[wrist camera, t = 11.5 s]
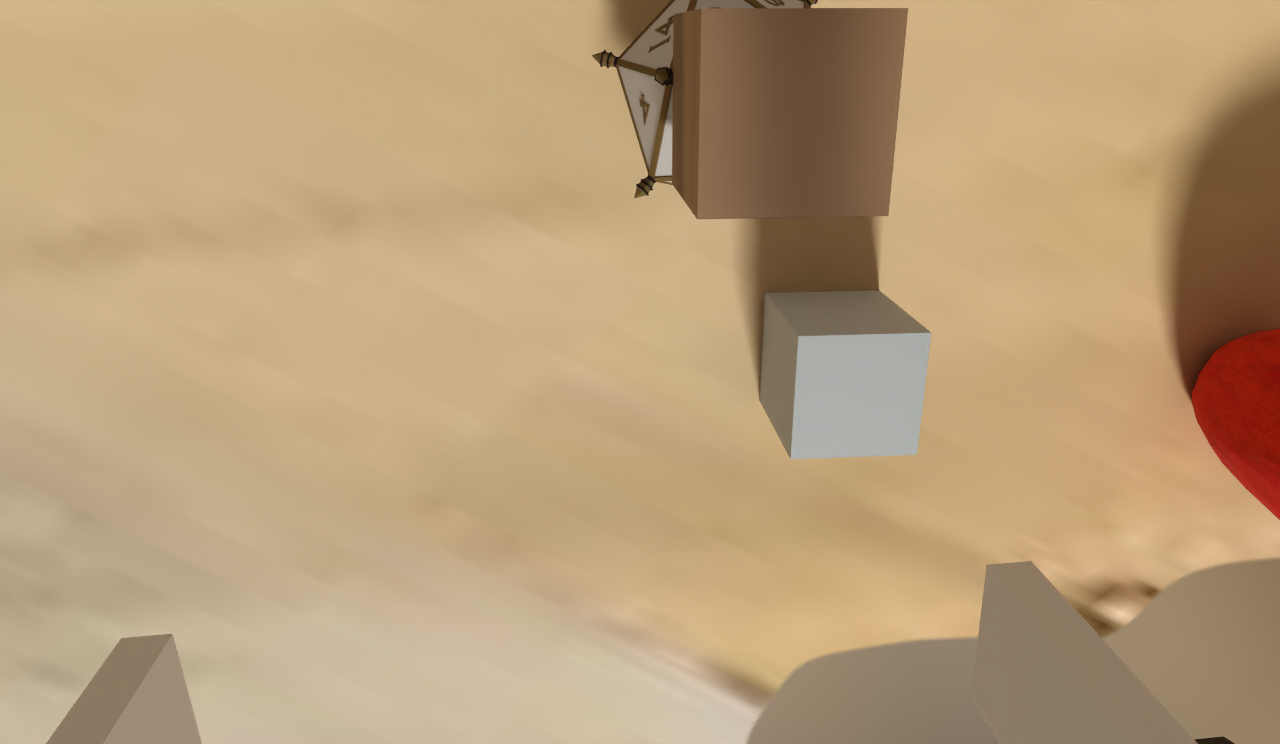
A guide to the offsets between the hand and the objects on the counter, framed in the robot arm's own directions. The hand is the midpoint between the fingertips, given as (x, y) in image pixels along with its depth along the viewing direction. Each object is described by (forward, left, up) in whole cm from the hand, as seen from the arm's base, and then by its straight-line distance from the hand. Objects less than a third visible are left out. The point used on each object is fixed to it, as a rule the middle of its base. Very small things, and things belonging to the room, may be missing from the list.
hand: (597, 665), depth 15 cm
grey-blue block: (+10, -3, -25) cm, 27 cm away
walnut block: (+5, +8, -17) cm, 19 cm away
